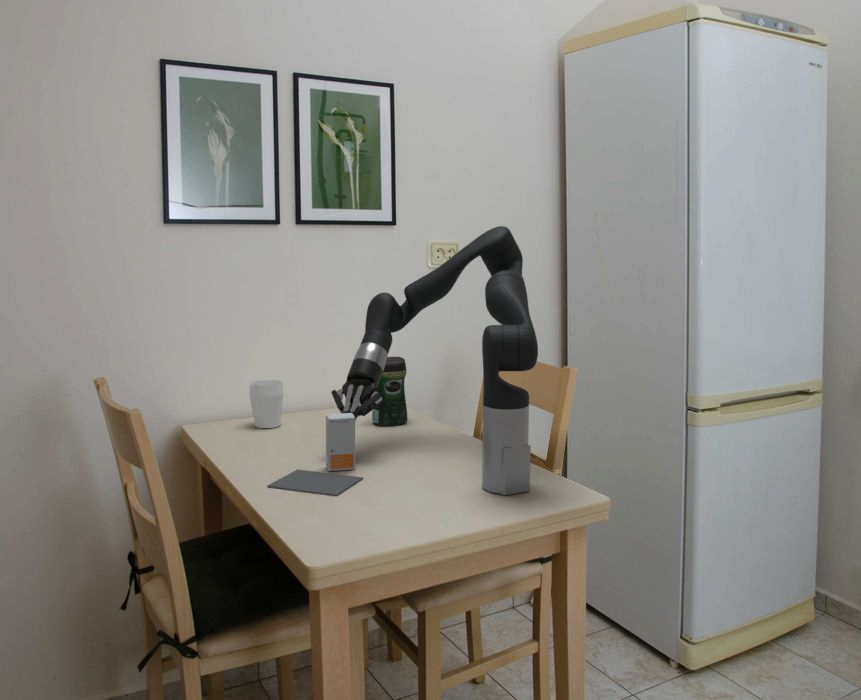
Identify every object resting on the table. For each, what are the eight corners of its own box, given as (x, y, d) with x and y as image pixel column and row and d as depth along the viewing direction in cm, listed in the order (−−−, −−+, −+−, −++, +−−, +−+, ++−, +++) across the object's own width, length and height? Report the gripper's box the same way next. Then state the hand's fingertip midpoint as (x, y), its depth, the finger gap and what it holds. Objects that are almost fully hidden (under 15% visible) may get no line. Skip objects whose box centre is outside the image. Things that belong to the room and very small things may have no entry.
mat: (297, 470, 165) (297, 469, 165) (363, 478, 159) (363, 477, 159) (267, 487, 154) (267, 485, 154) (336, 496, 148) (336, 494, 148)
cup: (244, 428, 203) (242, 385, 201) (261, 421, 211) (259, 379, 209) (274, 431, 200) (273, 386, 198) (290, 423, 209) (289, 380, 207)
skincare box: (328, 472, 164) (327, 419, 162) (325, 465, 168) (325, 413, 166) (356, 470, 166) (355, 417, 163) (352, 463, 170) (352, 412, 167)
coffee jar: (401, 418, 214) (401, 354, 212) (410, 424, 207) (410, 358, 204) (368, 421, 211) (367, 355, 208) (376, 427, 204) (376, 359, 201)
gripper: (398, 377, 179) (377, 440, 169) (348, 374, 183) (325, 435, 174) (388, 358, 173) (366, 422, 163) (337, 355, 178) (312, 417, 168)
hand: (345, 428), depth 169 cm, fingers closed
